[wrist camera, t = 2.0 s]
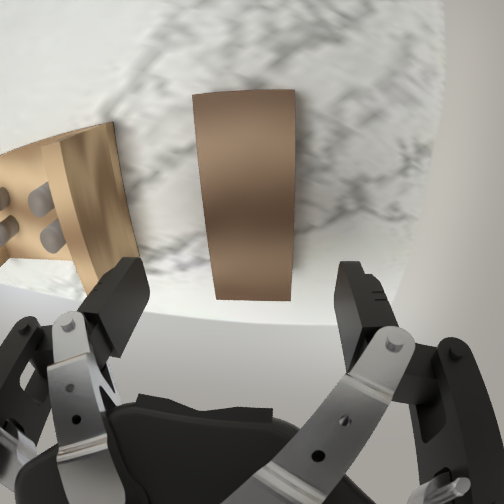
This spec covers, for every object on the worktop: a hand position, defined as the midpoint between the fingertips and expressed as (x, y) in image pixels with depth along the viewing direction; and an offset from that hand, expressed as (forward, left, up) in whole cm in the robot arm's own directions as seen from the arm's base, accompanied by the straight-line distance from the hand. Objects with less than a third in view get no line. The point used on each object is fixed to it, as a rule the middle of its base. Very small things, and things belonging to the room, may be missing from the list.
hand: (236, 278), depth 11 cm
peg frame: (0, -19, -9) cm, 21 cm away
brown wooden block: (0, 0, -10) cm, 10 cm away
